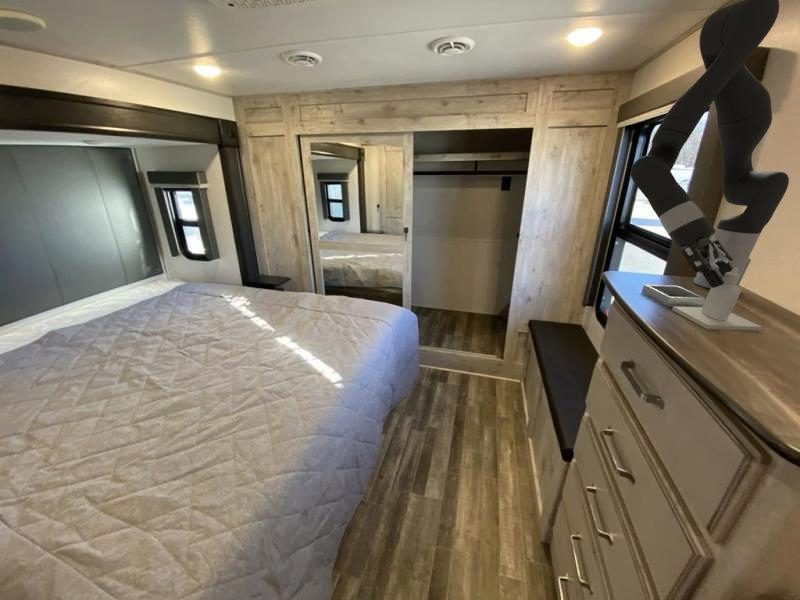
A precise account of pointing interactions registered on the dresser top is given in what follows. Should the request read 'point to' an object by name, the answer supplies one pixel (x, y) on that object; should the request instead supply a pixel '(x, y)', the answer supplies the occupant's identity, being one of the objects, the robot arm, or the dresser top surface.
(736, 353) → the dresser top surface
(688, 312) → the cream pad
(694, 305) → the grey square tray
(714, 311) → the eye dropper bottle
